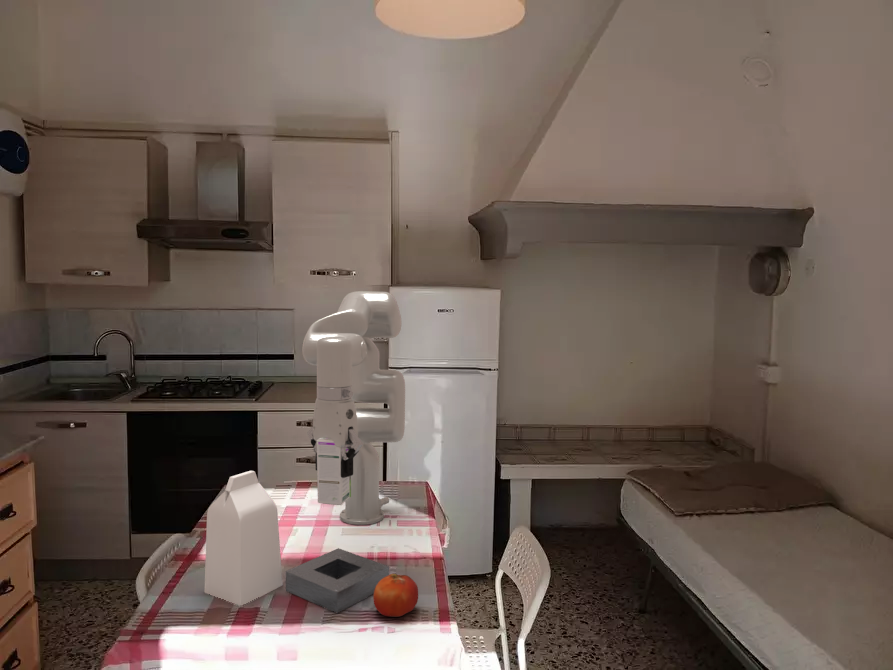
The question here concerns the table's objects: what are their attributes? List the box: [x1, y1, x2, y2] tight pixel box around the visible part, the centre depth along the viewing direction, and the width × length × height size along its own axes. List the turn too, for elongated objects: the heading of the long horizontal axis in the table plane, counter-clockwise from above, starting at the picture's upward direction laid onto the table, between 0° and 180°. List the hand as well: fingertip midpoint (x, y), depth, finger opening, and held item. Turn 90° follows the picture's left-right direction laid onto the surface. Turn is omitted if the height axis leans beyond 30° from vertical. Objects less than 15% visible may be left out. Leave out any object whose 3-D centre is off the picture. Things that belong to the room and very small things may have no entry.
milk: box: [203, 470, 284, 605], centre depth 151 cm, size 12×12×26 cm
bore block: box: [285, 547, 390, 614], centre depth 153 cm, size 16×16×4 cm
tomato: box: [372, 573, 419, 618], centre depth 143 cm, size 9×9×8 cm
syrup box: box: [316, 438, 351, 506], centre depth 152 cm, size 6×6×14 cm
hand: (334, 472), depth 152 cm, fingers closed on syrup box, 7 cm apart
